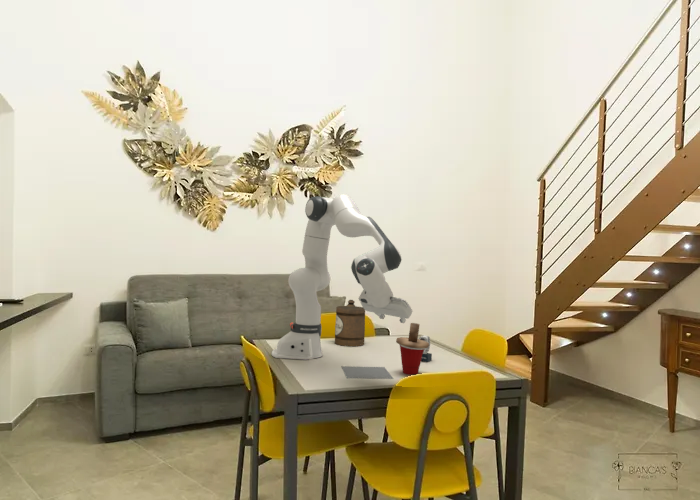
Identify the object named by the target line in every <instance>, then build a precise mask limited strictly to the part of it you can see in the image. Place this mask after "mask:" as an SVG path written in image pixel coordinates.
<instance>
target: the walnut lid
mask: <svg viewBox="0 0 700 500" xmlns="http://www.w3.org/2000/svg"><path fill="white" fill-rule="evenodd" d="M419 332H420V323H416V322H410V323H409V333H408V337H405V336H404V337H399V336H398V337H396V338H395V339H396V340H395V341H396V342H395V343H396V344H398V345H399V344H400V345H403V346H407V347H412V348H428V347H429V343H428V342H426V341H423V340H420V339H419ZM400 345H399V346H400Z"/></svg>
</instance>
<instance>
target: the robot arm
mask: <svg viewBox="0 0 700 500" xmlns="http://www.w3.org/2000/svg"><path fill="white" fill-rule="evenodd" d="M304 210H305V211H304V212H305V215H306V217H307V219H308V222H307V223H306V228H305V233H304V237H303V238H304V239H303V244H302V249H301V250H302V251H301V252H302V255H303V256H304V261H305V262H304V263H305V264H304V265H305V267H300V268H297V269H296V270H294V271H292V272H291V273H290V274H289V275H288V282H287V283H288V286H289V288H290V289H291V291H292V293H293V296H294V297H293V298H294V300H295V322H290V323H289V327H290V331H289V332H287V333H286V334H284V335H283V336H282V337H280V338H279V340H278V342H277V345H276V348H274V349H273V350H272V351H271V356H272V357H273V358H276V359H292V360H293V359H294V360H306V361H307V360H308V361H309V360H312V359H317V358H320V357H323V355H324V354H323V351H322V345H321V335H322V323H321V321H322V318H321V317H322V305H321V304H320V303H319V300H318V293H317V292H320V291H322V290H325V289H326V288H327V287H328V286H329V285H330V283H331V274H330V272H329V270H328V269H329V267H328V250H329V245H330V238H331V231H332V227H333V226H334V225H335V227H336V229H337V230H338V232H339V233H340V234H341V235H342V236H344V237H347V238H359V237H364V236H365V237H372V238H374V240H375V241H376V242H377V243H378V245H379V246H378V247H376V248H374V249H372V250H370V251H367V252H365V253H362V254H361V255H358V256H356V257H355V258H353V260H352V263H351V266H350V269H351V272H352V274H353V276H354V278H355V281H356V282H357V284H359V285H360V286H361V287H362V289H363V290H362V291H361V292H360V294H359V296H358V301H359V302H360V304H361V307H363V308H364V309H365V312H369V313H374V314H375V315H376V316H378V318H379V319H382V320H384V319H385V318H386V316H390V317H396V318H399V322H400V323H401V324H405V323H406V321H407V320H408V319H410V317H411V316H412V313H413V309H412V307H411V305H410V304H409V303H408V302H407V300H406V299H404V298H401V297H396V296H395V297H394V294H393V291H392V289H391V287H390V285H389V283H388V282H387V281H386V278H385V274H386V273H387V272H390V271H394V270H396V269H398V268H399V267H400V265H401V263H402V260H403V259H402V254H401V252H400V251H399V249H398V248H397V246H396V245H395V244H393V242H392V241H391V240H390V239H389V238H388V236H387V235H386V234H385V232H384V231H383V230H382V229H381V227H380V226H379V225H378V223H377V222H376V221H375V220H374V219H373V218H372V217H370V216H367V215H366V216H365V215H363V214H362V213H361V212H360V209H359V207H358V205H357V204H356V203H355V201H354V199H352V197H351V196H350V195H349V194H348V195H347V194H343V193H342V194H338V195H337V196H334V197H324V196H312V197H310V198H309V199H308V200H307V202H306V205H305V209H304ZM406 319H407V320H406Z"/></svg>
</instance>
